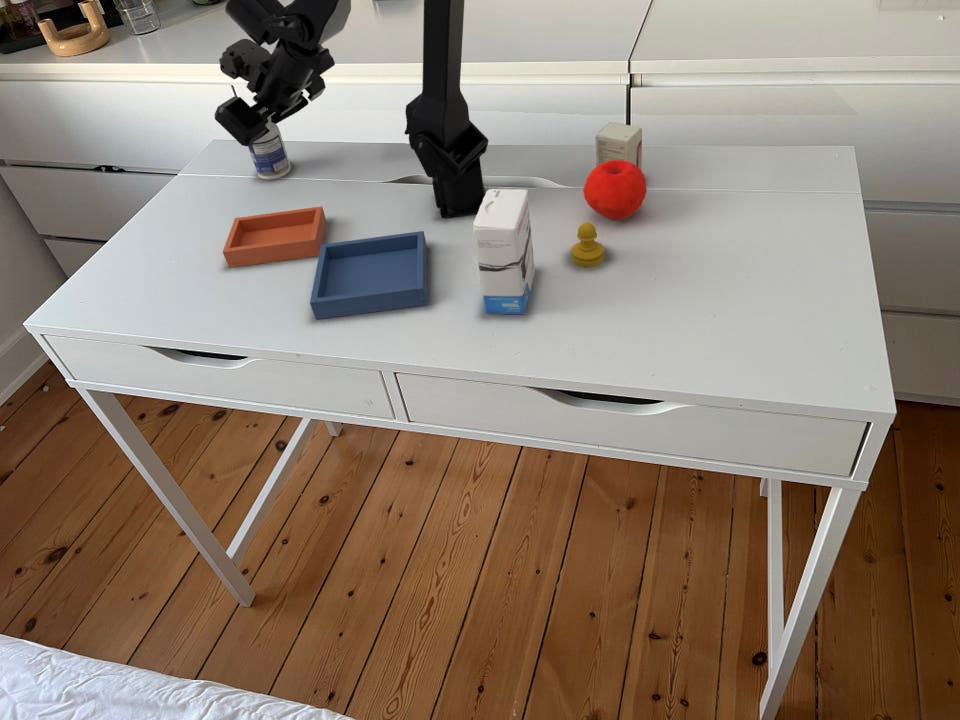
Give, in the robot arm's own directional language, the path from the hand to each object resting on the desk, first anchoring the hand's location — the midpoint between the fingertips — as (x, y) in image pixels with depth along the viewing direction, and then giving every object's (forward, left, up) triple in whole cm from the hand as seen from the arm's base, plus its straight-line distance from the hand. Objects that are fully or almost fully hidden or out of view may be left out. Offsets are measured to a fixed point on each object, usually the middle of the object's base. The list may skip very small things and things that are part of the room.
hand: (255, 132), depth 120 cm
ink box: (-36, +41, -7) cm, 55 cm away
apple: (-51, +27, -7) cm, 58 cm away
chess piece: (-46, +36, -7) cm, 59 cm away
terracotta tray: (-5, +23, -7) cm, 24 cm away
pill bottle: (-1, +1, -7) cm, 7 cm away
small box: (-53, +19, -7) cm, 57 cm away
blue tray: (-19, +35, -7) cm, 40 cm away
